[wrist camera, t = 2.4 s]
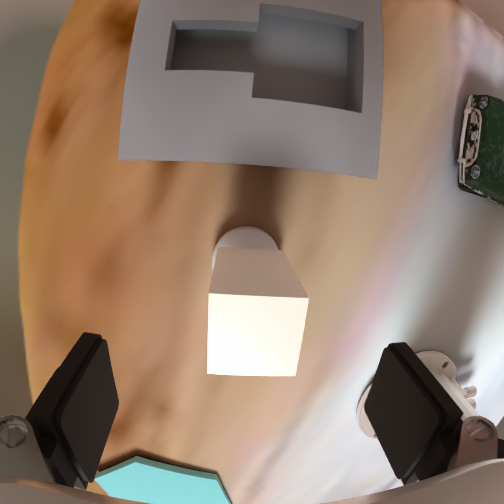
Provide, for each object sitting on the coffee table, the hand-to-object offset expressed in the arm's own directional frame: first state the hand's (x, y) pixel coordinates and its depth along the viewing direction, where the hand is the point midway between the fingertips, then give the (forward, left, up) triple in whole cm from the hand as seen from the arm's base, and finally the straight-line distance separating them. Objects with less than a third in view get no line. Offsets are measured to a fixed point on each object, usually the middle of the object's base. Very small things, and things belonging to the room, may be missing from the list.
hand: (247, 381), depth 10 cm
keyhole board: (0, -14, -15) cm, 20 cm away
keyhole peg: (-1, 0, -15) cm, 15 cm away
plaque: (+8, +35, -16) cm, 40 cm away
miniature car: (-26, -11, -15) cm, 32 cm away
